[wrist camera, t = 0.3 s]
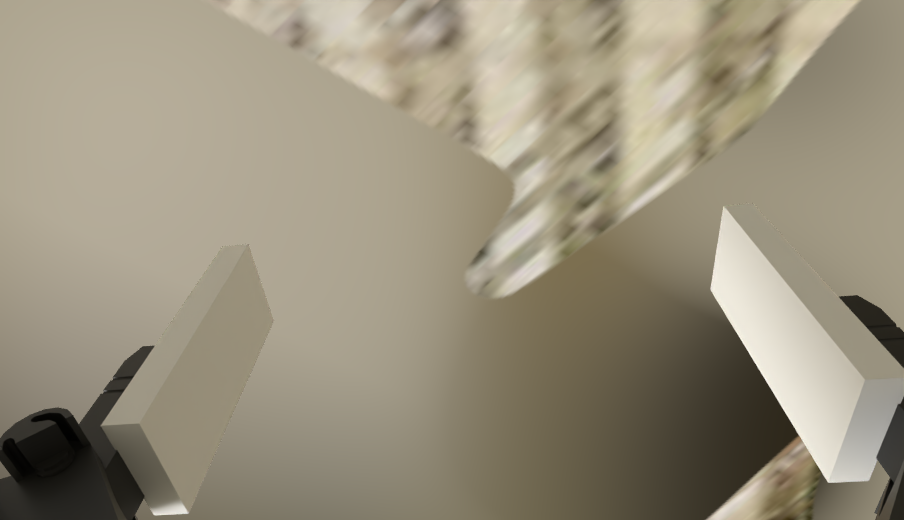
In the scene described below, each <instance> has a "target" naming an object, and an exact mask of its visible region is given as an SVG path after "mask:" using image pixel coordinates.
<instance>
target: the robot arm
mask: <svg viewBox="0 0 904 520" xmlns="http://www.w3.org/2000/svg"><path fill="white" fill-rule="evenodd" d="M711 291H712V293H713V295H714V296H715V298H716V300H717V301H718V303H719V304H720V306H721V308H722V309H723V311H724V312H725V314H726V316H727V318H728V319H729V321H730V322H731V324H732V326H733V327H734V329H735V331H736V332H737V334H738V336H739V337H740V339H741V341H742V342H743V344H744V345H745V347H746V349H747V350H748V352H749V354H750V355H751V357H752V359H753V360H754V362H755V363H756V365H757V367H758V368H759V370H760V372H761V373H762V375H763V376H764V378H765V380H766V381H767V383H768V385H769V386H770V388H771V390H772V391H773V393H774V395H775V396H776V398H777V400H778V401H779V403H780V404H781V406H782V408H783V409H784V411H785V413H786V414H787V416H788V418H789V419H790V421H791V423H792V424H793V426H794V427H795V429H796V431H797V432H798V434H799V436H800V437H801V439H802V441H803V442H804V444H805V445H806V447H807V449H808V450H809V452H810V454H811V455H812V457H813V459H814V460H815V462H816V463H817V465H818V467H819V468H820V470H821V472H822V473H823V475H824V477H825V478H826V480H827V481H828V483H833V482H853V481H869V479H870V476H871V474H872V472H873V469H874V467H875V464H876V462H877V460H878V461H879V463H880V464H881V465H882V467H883V468H884V469H885V471H886V472H887V474H888V475H889V476H890V479H889V481H888V483H887V486H886V488H885V490H884V492H883V495H882V497H881V499H880V501H879V504H878V506H877V508H876V510H875V513H876V514H877V516H876V519H875V520H904V332H903V331H902V330H901V329H900V328H899V327H896V324H895V323H894V322H893V321H892V320H891V319H890V317H889V316H888V315H886V313H885V312H884V311H882V309H881V308H879V307H877V306H875V305H874V304H872V303H870V302H868V301H866V300H864V299H863V298H861V297H859V296H857V295H855V296H841V297H838V296H837V295H836V294H835V293H834V291H833V290H832V289H831V288H830V287H829V286H828V285H827V284H826V283H825V282H824V280H823V279H821V277H820V276H819V275H818V274H817V273H816V272H815V271H814V270H813V268H811V266H810V265H809V264H808V263H807V262H806V261H805V260H804V259H803V258H802V256H801V255H800V254H799V253H798V252H797V251H796V250H795V249H794V248H793V247H792V245H791V244H790V243H789V242H788V241H787V240H786V239H785V238H784V237H783V236H782V234H781V233H780V232H779V231H778V230H777V229H776V228H775V227H774V226H773V225H772V224H771V222H770V221H768V219H767V218H766V217H765V216H764V215H763V214H762V213H761V212H760V211H759V209H758V208H757V207H756V206H755V205H754V204H753V203H752V204H739V205H727V206H723V213H722V219H721V226H720V232H719V239H718V245H717V251H716V258H715V264H714V271H713V277H712V284H711ZM273 322H274V320H273V317H272V314H271V311H270V308H269V305H268V302H267V299H266V296H265V293H264V290H263V287H262V284H261V281H260V278H259V275H258V272H257V269H256V266H255V263H254V260H253V257H252V254H251V251H250V248H249V245H248V244H247V245H235V246H223V247H222V248H221V249H220V251H219V252H218V254H217V255H216V257H215V258H214V260H213V261H212V263H211V264H210V265H209V267H208V269H207V270H206V271H205V273H204V274H203V276H202V277H201V279H200V280H199V282H198V283H197V285H196V286H195V288H194V289H193V291H192V292H191V294H190V295H189V296H188V298H187V299H186V301H185V302H184V304H183V305H182V307H181V308H180V310H179V311H178V313H177V314H176V316H175V317H174V318H173V320H172V321H171V323H170V324H169V326H168V327H167V329H166V330H165V332H164V333H163V335H162V336H161V338H160V339H159V341H158V342H157V344H156V345H155V346H143V347H142V348H140V349H139V350H138V351H137V352H136V353H134V354H133V355H132V356H130V357H129V358H128V359H127V360H125V361H124V363H123V364H122V365H121V367H120V368H119V369H118V371H117V373H116V374H115V375H114V376H113V380H112V381H110V382H109V384H108V385H107V386H106V388H105V389H104V393H103V394H100V396H99V397H98V399H97V400H96V401H95V403H94V404H93V406H92V407H91V408H90V410H89V411H88V413H87V414H86V415H85V417H84V418H83V419H82V421H81V422H80V424H78V423H77V421H76V420H75V418H74V417H73V415H72V414H71V413H70V412H69V411H68V410H67V409H62V408H52V409H45V410H42V411H39V412H37V413H34V414H31V415H29V416H27V417H26V418H24V419H22V420H21V421H19V422H17V423H15V424H14V425H13V426H12V427H11V428H10V429H8V430H7V431H6V432H5V433H4V434H3V435H2V437H1V438H0V461H1V463H2V464H3V465H4V466H5V468H6V469H7V471H8V472H9V473H10V474H11V476H9V477H6V478H3V479H0V520H138V519H137V517H136V515H135V514H136V512H137V510H138V508H139V506H140V504H141V502H142V501H143V499H145V501H146V502H147V504H148V506H149V508H150V509H151V511H152V512H153V514H154V515H170V514H188V513H189V511H190V509H191V507H192V504H193V502H194V500H195V498H196V496H197V493H198V491H199V489H200V487H201V484H202V482H203V480H204V478H205V475H206V473H207V471H208V469H209V466H210V464H211V462H212V460H213V457H214V455H215V453H216V451H217V448H218V446H219V443H220V442H221V439H222V437H223V435H224V433H225V430H226V428H227V426H228V424H229V421H230V419H231V417H232V414H233V412H234V410H235V408H236V405H237V403H238V401H239V399H240V396H241V394H242V392H243V390H244V387H245V385H246V383H247V381H248V378H249V376H250V374H251V372H252V369H253V367H254V365H255V363H256V360H257V358H258V356H259V353H260V351H261V349H262V347H263V345H264V342H265V340H266V338H267V335H268V333H269V331H270V328H271V326H272V324H273Z"/></svg>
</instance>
